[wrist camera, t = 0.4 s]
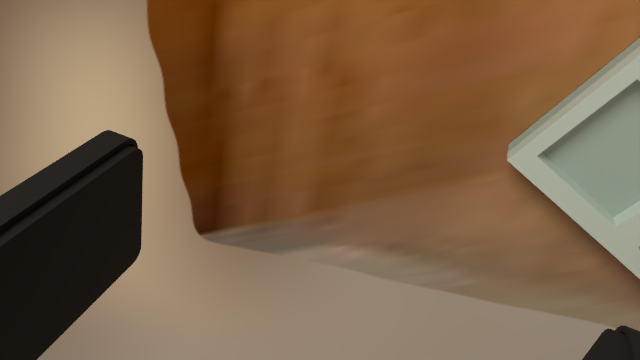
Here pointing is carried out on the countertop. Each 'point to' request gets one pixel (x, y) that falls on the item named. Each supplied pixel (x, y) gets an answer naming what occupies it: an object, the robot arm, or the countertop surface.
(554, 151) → the caddy
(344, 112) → the countertop surface
